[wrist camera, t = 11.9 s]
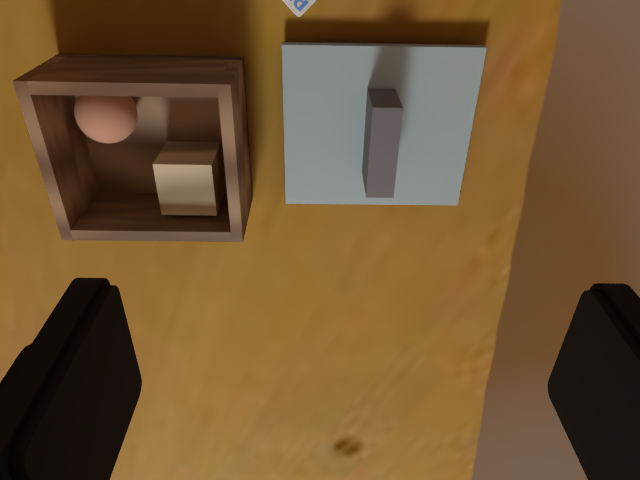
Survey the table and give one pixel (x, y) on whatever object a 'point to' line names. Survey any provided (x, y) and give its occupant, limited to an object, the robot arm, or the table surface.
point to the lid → (378, 121)
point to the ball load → (106, 117)
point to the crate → (137, 143)
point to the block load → (189, 178)
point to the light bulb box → (299, 6)
